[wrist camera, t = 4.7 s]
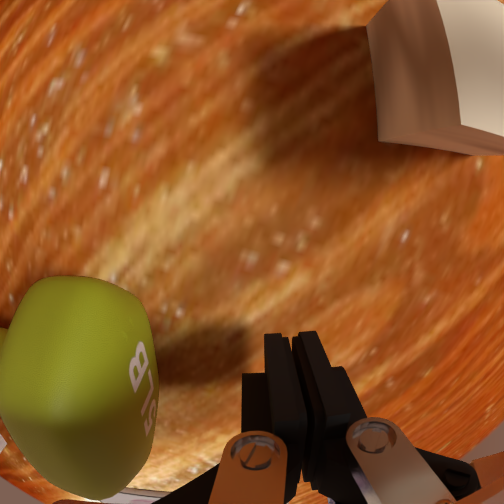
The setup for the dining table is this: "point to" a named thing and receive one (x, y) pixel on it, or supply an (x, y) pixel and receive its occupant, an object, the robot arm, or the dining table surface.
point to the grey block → (2, 443)
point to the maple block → (440, 74)
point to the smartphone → (127, 499)
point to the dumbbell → (80, 384)
